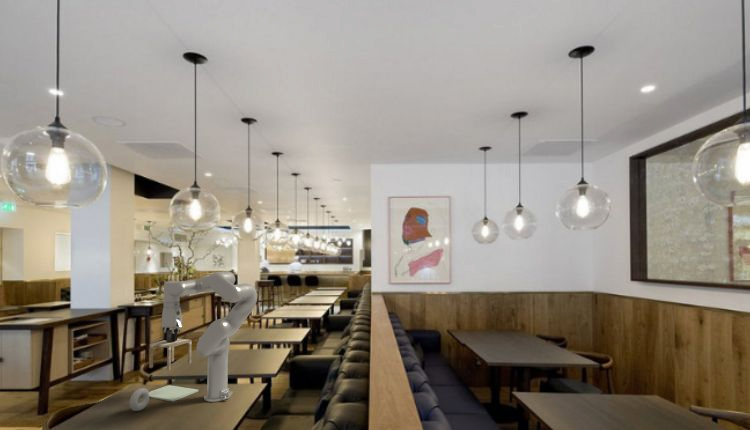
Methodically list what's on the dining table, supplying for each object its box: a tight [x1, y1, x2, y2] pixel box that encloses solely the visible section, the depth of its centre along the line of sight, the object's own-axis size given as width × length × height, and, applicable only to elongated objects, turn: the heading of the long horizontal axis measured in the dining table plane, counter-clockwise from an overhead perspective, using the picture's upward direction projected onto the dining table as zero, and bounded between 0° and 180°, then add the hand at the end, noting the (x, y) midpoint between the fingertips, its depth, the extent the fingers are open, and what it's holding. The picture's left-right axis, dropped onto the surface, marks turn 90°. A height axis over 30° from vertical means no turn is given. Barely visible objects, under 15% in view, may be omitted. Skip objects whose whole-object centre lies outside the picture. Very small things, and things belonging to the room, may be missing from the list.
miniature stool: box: [148, 328, 193, 371], centre depth 221 cm, size 14×14×18 cm
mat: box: [148, 384, 199, 403], centre depth 219 cm, size 22×16×1 cm
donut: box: [129, 387, 150, 412], centre depth 197 cm, size 10×4×10 cm, turn 162°
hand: (171, 340), depth 221 cm, fingers closed on miniature stool, 4 cm apart
